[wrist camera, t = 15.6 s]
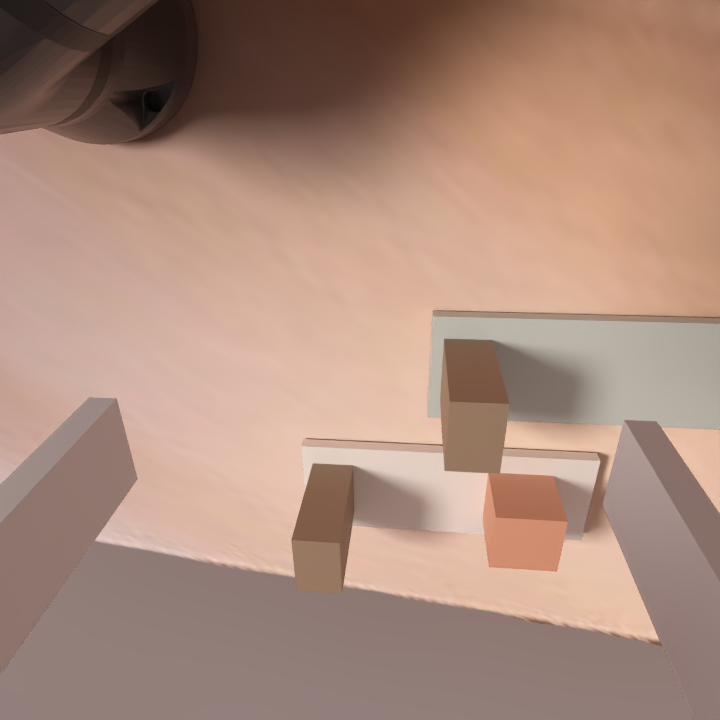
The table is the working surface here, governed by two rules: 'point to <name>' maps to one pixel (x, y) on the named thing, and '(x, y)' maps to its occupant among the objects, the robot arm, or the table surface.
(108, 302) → the table surface
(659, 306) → the table surface
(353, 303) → the table surface
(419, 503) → the cube strip
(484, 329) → the strip with upright block
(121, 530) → the table surface
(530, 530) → the cube
